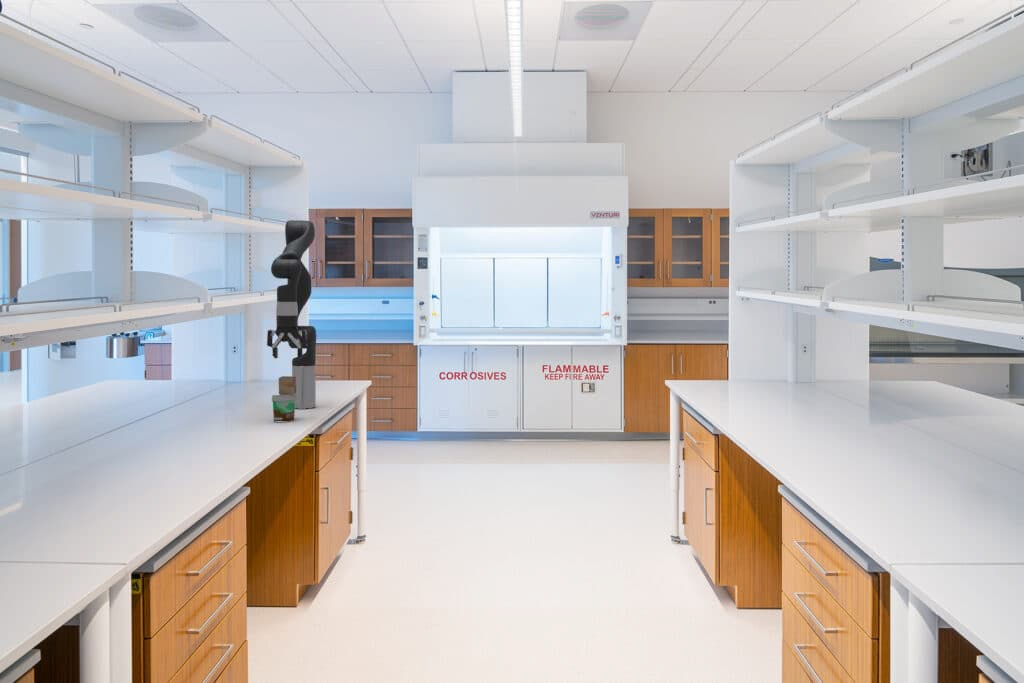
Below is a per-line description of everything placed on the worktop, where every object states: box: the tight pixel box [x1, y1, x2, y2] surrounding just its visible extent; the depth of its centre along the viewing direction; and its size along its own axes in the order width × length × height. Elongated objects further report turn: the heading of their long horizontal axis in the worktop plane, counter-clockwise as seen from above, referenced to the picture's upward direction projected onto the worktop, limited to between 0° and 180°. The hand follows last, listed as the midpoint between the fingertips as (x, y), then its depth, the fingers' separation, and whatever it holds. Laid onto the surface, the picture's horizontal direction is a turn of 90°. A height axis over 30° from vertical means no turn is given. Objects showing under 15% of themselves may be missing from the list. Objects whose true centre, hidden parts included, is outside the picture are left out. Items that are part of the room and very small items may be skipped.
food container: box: [271, 393, 297, 422], centre depth 290 cm, size 12×6×10 cm, turn 169°
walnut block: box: [278, 375, 296, 395], centre depth 290 cm, size 5×5×6 cm
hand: (287, 358), depth 289 cm, fingers open, 8 cm apart
